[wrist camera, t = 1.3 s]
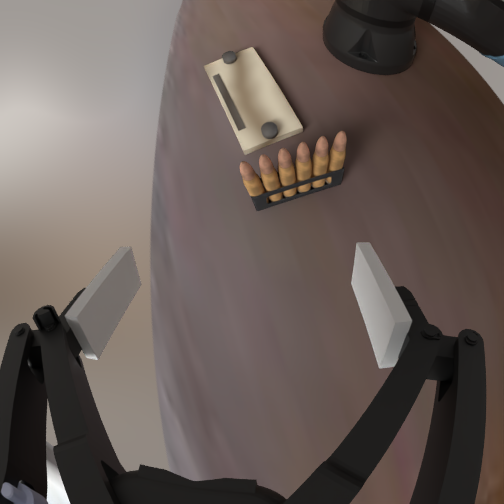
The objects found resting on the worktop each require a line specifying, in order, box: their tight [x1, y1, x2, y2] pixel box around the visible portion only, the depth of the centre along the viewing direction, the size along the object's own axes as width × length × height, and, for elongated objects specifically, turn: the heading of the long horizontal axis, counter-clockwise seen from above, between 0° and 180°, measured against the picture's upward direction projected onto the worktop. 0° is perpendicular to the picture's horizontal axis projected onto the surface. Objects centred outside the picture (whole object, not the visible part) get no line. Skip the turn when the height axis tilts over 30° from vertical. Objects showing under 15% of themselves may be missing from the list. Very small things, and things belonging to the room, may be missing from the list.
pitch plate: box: [204, 47, 303, 155], centre depth 36 cm, size 8×17×2 cm, turn 22°
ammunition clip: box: [240, 131, 347, 211], centre depth 29 cm, size 11×2×12 cm, turn 107°
